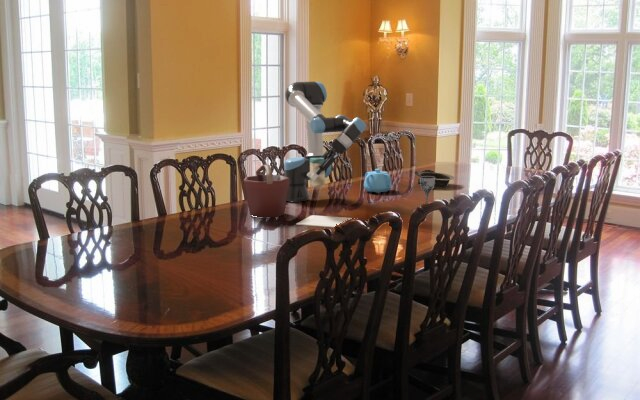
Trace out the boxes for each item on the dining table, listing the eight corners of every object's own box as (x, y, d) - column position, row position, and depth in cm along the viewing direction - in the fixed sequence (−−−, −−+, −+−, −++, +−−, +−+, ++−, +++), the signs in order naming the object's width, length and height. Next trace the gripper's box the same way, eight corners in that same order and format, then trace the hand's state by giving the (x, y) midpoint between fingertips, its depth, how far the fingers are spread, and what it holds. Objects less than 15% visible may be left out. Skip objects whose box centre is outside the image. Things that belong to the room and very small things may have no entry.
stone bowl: (407, 183, 427) (408, 169, 426) (444, 184, 434) (445, 170, 432) (422, 189, 404) (424, 174, 402) (461, 190, 410) (463, 175, 409)
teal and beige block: (313, 187, 339) (312, 159, 336) (310, 185, 345) (309, 157, 342) (324, 186, 340) (324, 159, 338) (321, 184, 346) (321, 157, 343)
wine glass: (434, 206, 356) (434, 178, 354) (418, 206, 358) (419, 178, 355) (434, 204, 364) (435, 176, 361) (419, 203, 366) (420, 175, 363)
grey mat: (296, 224, 319) (296, 223, 319) (311, 215, 338) (311, 215, 338) (344, 228, 311) (344, 227, 311) (358, 219, 329) (358, 218, 329)
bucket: (248, 210, 354) (246, 162, 349) (290, 209, 354) (290, 161, 349) (243, 220, 330) (241, 169, 325) (289, 219, 330) (288, 168, 325)
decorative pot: (364, 189, 411) (364, 167, 409) (391, 189, 409) (391, 166, 407) (363, 194, 395) (363, 171, 393) (391, 194, 393) (391, 171, 391)
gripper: (352, 151, 334) (320, 186, 333) (340, 146, 352) (310, 179, 351) (342, 140, 332) (310, 175, 330) (330, 136, 350) (300, 170, 348)
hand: (310, 177), depth 341 cm, fingers closed on teal and beige block, 6 cm apart
